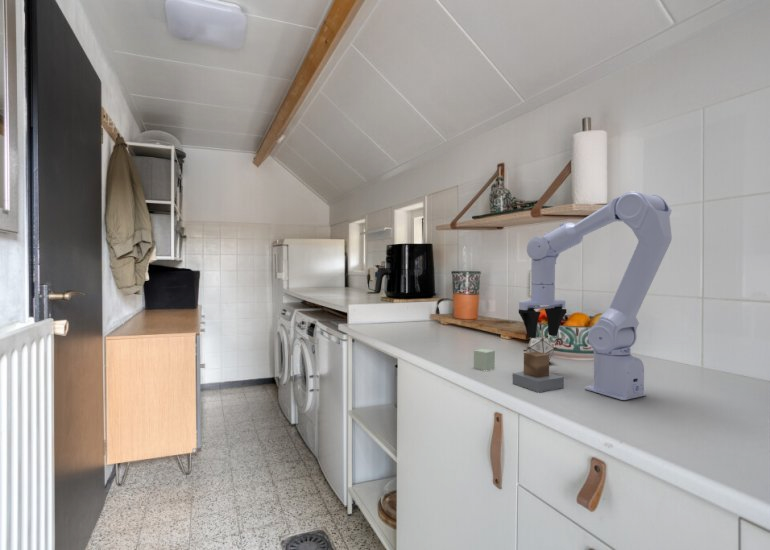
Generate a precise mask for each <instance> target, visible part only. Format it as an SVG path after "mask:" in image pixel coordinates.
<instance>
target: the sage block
mask: <svg viewBox="0 0 770 550" xmlns="http://www.w3.org/2000/svg"><path fill="white" fill-rule="evenodd" d="M495 353H496V351H495V350H494V349H493V350H492V349H488V348H487V349H486V348H479V349H475V350H473V369H474V368H477V369H476V370H479V369H482V370H481V371H483V370H485V371H484V372H487V371H486V370H488V371H491V370H490V369H492V370H495V369H494V368H495V367H496V364H495V362H496V361H495V359H496V358H495V357H496V355H495Z"/></svg>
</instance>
